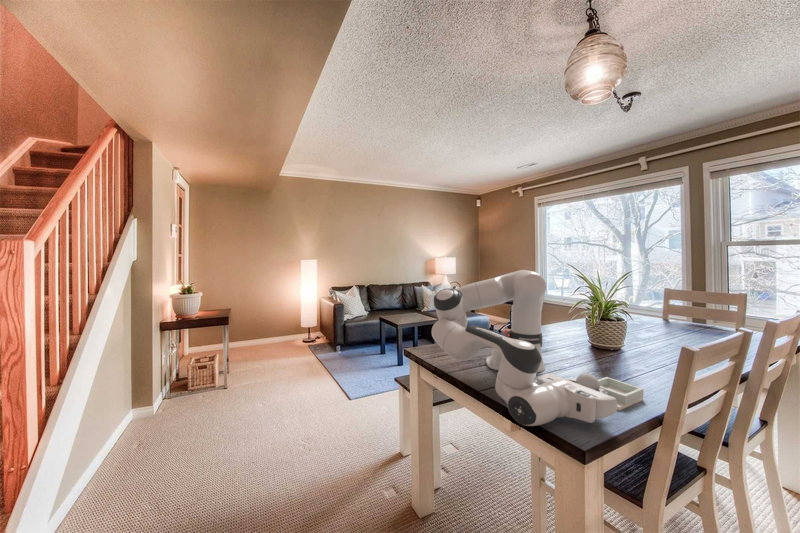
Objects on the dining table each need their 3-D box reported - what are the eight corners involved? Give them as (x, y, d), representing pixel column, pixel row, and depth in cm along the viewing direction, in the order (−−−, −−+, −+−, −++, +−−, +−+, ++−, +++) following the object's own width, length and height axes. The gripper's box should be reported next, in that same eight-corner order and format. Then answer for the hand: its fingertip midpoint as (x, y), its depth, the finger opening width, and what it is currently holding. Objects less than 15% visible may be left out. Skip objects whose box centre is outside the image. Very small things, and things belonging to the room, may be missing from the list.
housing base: (619, 410, 86) (619, 398, 86) (582, 395, 96) (582, 384, 96) (643, 400, 93) (643, 388, 93) (606, 386, 102) (606, 376, 102)
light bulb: (571, 403, 91) (571, 370, 90) (589, 402, 91) (590, 370, 91) (584, 413, 85) (585, 378, 84) (604, 412, 85) (605, 377, 85)
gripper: (527, 393, 91) (556, 384, 97) (598, 426, 73) (628, 412, 79) (527, 372, 91) (556, 365, 97) (598, 401, 73) (628, 389, 79)
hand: (589, 386), depth 88 cm, fingers open, 6 cm apart
